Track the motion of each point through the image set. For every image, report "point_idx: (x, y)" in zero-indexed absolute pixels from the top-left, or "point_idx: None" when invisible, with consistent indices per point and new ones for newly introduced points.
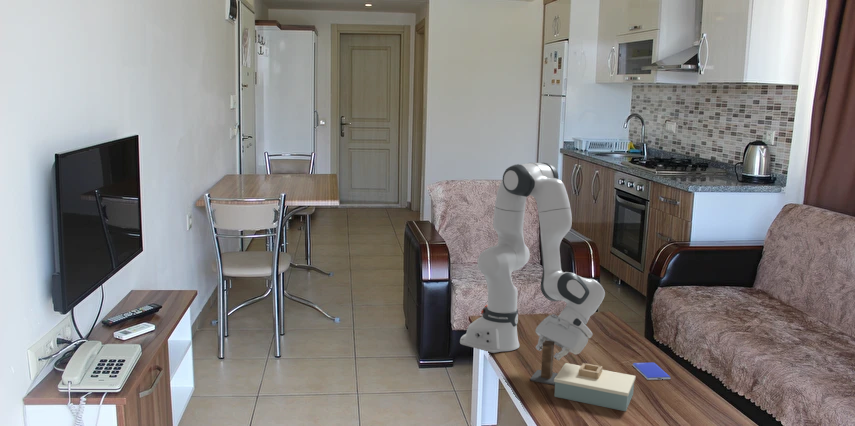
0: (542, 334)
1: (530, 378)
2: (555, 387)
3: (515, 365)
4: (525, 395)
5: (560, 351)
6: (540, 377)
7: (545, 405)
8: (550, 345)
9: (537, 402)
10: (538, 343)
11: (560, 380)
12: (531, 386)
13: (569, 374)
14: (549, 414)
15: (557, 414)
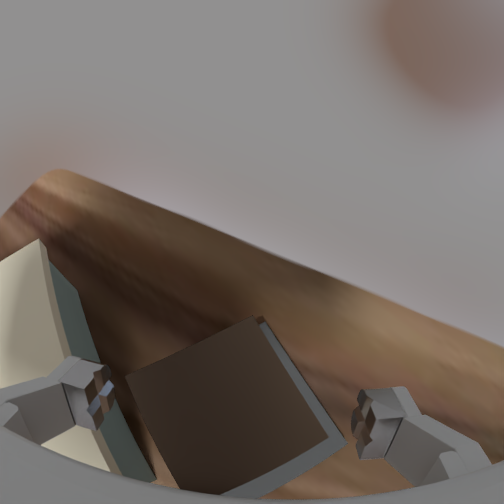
0: (481, 473)
1: (268, 327)
2: (55, 270)
3: (446, 375)
4: (161, 209)
5: (32, 390)
6: None
7: (69, 217)
8: (143, 372)
9: (98, 209)
10: (413, 412)
11: (15, 254)
12: (205, 283)
13: (6, 345)
14: (40, 193)
15: (23, 210)
